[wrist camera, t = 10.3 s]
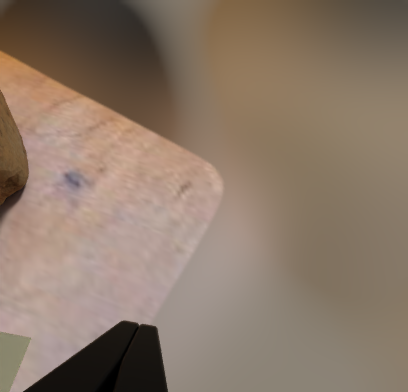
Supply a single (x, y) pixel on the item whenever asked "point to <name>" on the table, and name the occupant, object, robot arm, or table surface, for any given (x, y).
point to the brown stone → (11, 154)
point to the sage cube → (11, 358)
